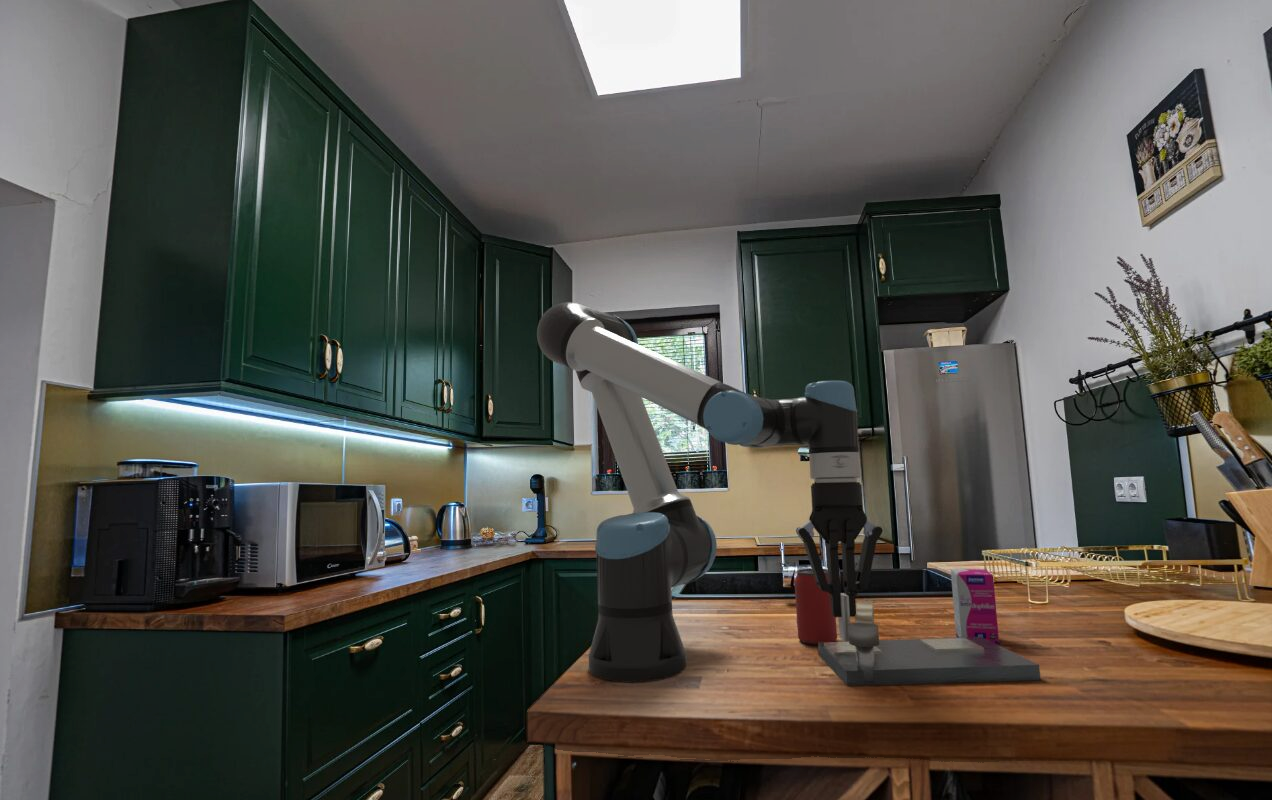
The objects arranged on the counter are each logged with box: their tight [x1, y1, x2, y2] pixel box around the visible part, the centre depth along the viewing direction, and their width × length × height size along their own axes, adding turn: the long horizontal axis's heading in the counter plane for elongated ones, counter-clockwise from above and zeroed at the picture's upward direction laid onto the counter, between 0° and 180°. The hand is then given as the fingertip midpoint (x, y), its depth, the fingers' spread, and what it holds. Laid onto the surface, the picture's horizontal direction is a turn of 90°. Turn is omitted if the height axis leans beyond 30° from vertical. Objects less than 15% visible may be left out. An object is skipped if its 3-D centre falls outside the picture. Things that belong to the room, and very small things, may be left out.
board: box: [817, 637, 1042, 687], centre depth 98 cm, size 26×16×2 cm, turn 88°
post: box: [855, 646, 875, 687], centre depth 92 cm, size 2×2×5 cm
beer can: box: [794, 568, 838, 646], centre depth 116 cm, size 7×7×12 cm
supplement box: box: [950, 568, 1000, 646], centre depth 112 cm, size 6×6×12 cm
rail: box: [848, 600, 880, 647], centre depth 100 cm, size 20×4×2 cm, turn 160°
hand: (845, 639), depth 99 cm, fingers closed
